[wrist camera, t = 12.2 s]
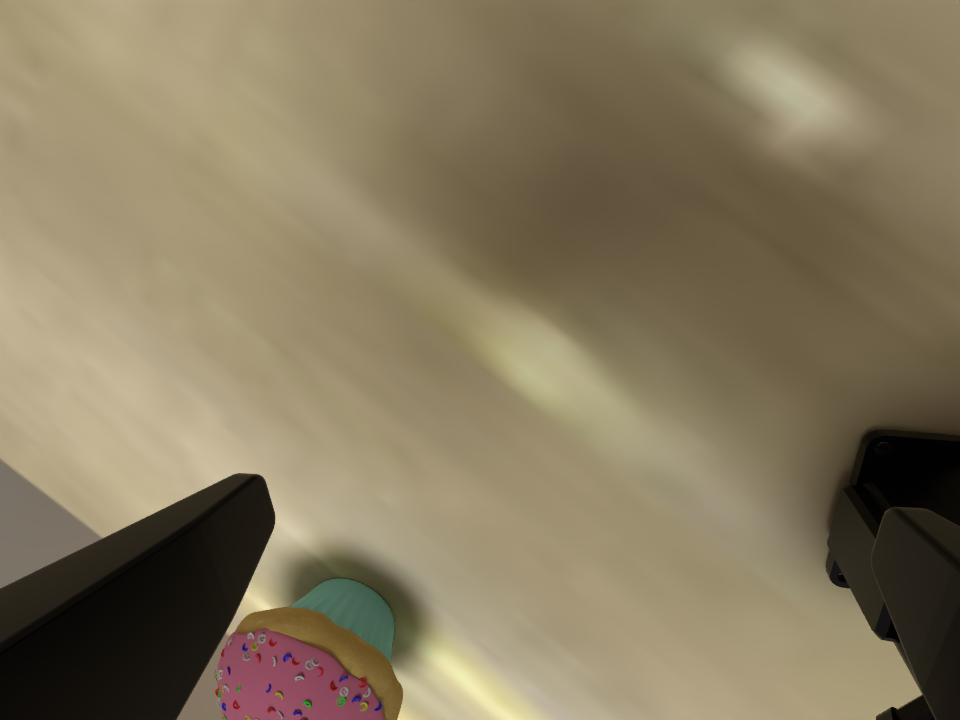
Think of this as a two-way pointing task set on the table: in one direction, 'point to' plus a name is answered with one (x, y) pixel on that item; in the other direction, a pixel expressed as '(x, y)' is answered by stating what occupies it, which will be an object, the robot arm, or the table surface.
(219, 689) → the cupcake
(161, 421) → the table surface
